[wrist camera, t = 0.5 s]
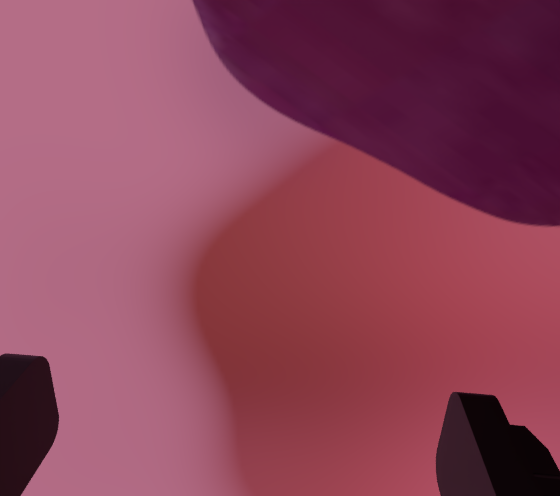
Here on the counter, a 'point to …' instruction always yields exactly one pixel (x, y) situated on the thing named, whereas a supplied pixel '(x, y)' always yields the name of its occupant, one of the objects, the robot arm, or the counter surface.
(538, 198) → the counter surface
